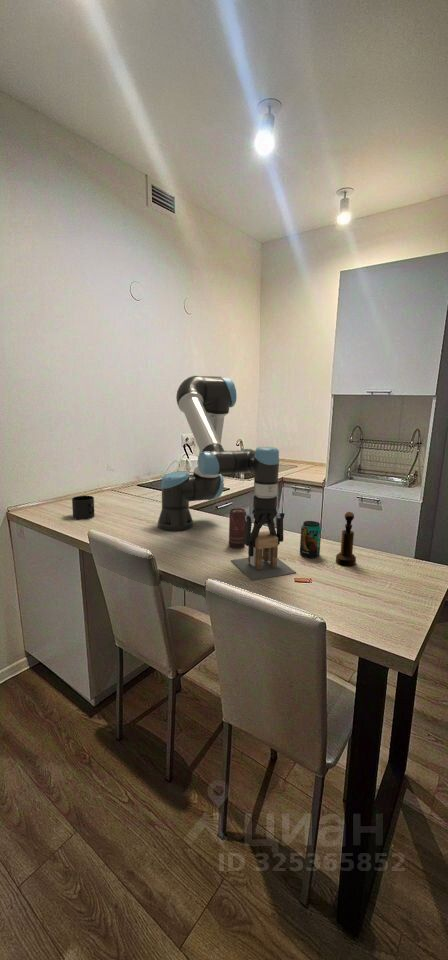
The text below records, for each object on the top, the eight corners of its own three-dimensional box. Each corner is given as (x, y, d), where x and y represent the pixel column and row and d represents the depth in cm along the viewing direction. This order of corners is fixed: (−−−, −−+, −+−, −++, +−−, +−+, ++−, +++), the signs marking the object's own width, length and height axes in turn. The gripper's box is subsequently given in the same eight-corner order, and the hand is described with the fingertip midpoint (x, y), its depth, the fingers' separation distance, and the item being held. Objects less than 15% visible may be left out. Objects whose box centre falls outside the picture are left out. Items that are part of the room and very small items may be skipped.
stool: (248, 561, 133) (249, 533, 131) (266, 558, 135) (267, 531, 133) (257, 569, 126) (258, 540, 124) (276, 566, 129) (278, 537, 127)
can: (244, 549, 147) (245, 512, 144) (227, 547, 148) (228, 511, 145) (246, 543, 152) (247, 508, 150) (230, 542, 154) (231, 507, 151)
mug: (85, 522, 175) (84, 502, 173) (68, 517, 182) (67, 498, 180) (102, 517, 183) (101, 498, 181) (86, 513, 189) (85, 494, 188)
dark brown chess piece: (341, 557, 141) (345, 508, 137) (359, 562, 136) (363, 512, 133) (332, 562, 136) (336, 512, 133) (349, 568, 131) (354, 516, 128)
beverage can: (295, 554, 142) (297, 523, 140) (306, 550, 147) (308, 519, 145) (313, 560, 137) (315, 527, 135) (323, 555, 142) (325, 523, 140)
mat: (230, 561, 135) (230, 559, 135) (272, 555, 141) (272, 554, 141) (250, 580, 121) (251, 579, 121) (296, 573, 127) (296, 572, 126)
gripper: (242, 500, 119) (240, 571, 124) (297, 496, 126) (293, 563, 131) (233, 495, 126) (231, 562, 131) (285, 491, 133) (282, 555, 138)
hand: (262, 563), depth 131 cm, fingers closed on stool, 6 cm apart
